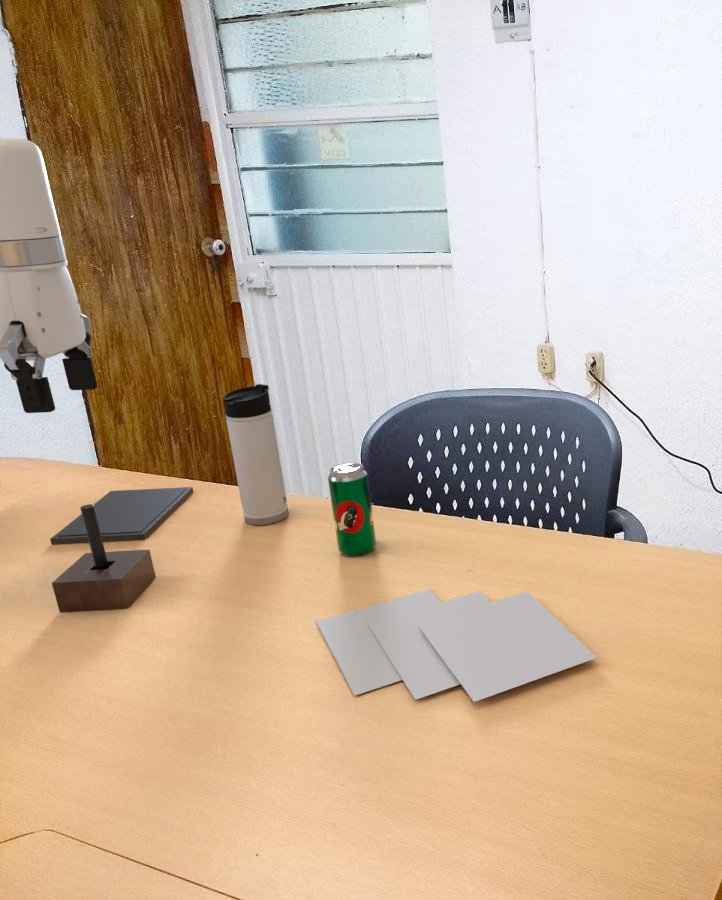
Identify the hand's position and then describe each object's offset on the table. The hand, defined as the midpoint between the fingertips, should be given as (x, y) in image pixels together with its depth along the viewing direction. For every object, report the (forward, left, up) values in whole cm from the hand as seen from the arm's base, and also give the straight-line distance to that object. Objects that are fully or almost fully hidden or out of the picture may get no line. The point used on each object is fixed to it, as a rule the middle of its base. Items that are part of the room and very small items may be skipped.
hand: (63, 400), depth 100 cm
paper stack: (+46, -20, -24) cm, 56 cm away
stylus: (+2, -4, -24) cm, 25 cm away
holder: (+2, -4, -24) cm, 25 cm away
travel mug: (+15, +18, -24) cm, 34 cm away
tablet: (-7, +21, -24) cm, 33 cm away
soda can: (+31, +5, -24) cm, 40 cm away
